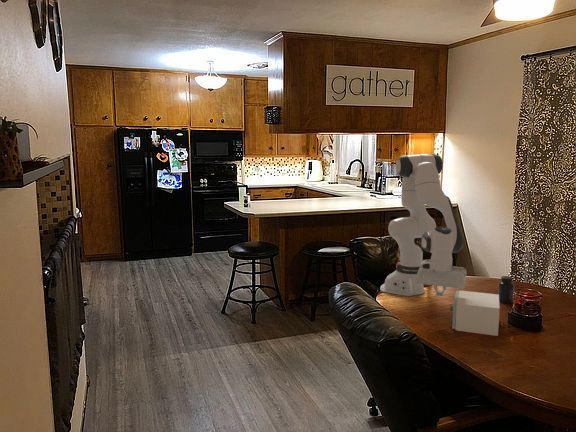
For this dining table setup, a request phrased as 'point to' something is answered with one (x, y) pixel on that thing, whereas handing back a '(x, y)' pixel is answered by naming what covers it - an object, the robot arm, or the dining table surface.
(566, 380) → the dining table surface
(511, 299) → the supplement bottle
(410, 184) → the robot arm
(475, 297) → the block
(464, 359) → the dining table surface
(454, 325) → the grey drawer
